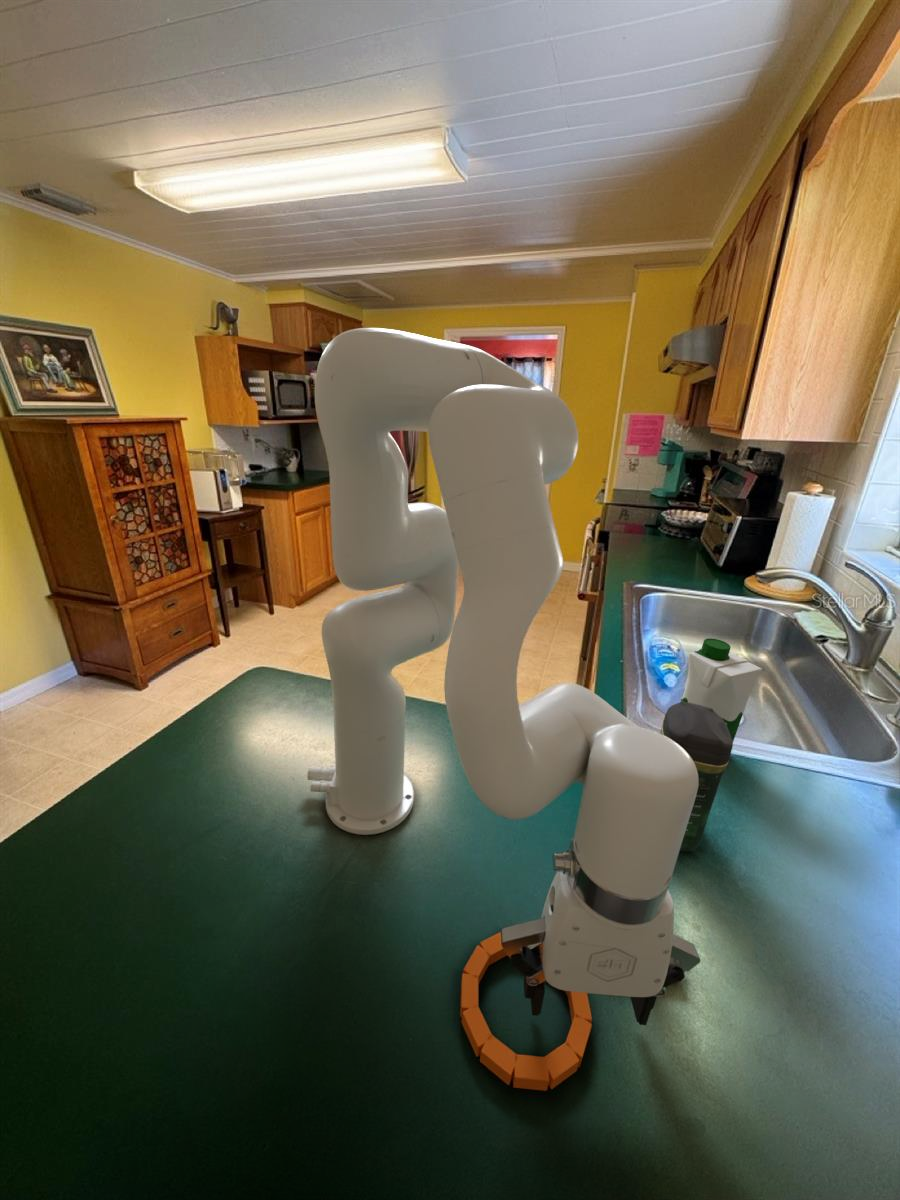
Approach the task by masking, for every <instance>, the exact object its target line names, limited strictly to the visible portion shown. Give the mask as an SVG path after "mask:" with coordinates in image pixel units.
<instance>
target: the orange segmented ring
mask: <svg viewBox="0 0 900 1200" xmlns="http://www.w3.org/2000/svg"><path fill="white" fill-rule="evenodd" d="M542 955H543V954H542ZM542 955H541V961H542ZM505 957H508V956H507V954H506V952H505V951H504V949H503V947H502V945H501V931H499V932H498V933H495V934H493V935H492V936H490V937H488V938H486V939H484V940H482V941H480V942H479V944H477V945H476V947H475V949H474V951H473V952H472V953H471V955H470V957H469V958H468V961H467V962H466V964H465V966H464V968H463V970H462V971H463V972H462V974H461V981H460V983H461V984H460V1015H459V1016H460V1018H461V1025H462V1027H463V1029H464V1032H465V1034H466V1036H467V1038H468V1041H469V1043H470V1045H471V1047H472V1050H473V1052H474V1055H475V1056H476V1058H477V1057H479V1062H480V1063H481V1064H482V1065H483V1066H485V1068H487V1069H488V1070H489V1071H490V1072H492V1073H493V1074H494V1075H495V1076H497V1077H498V1079H500V1080H501V1081H502V1082H503V1083H505V1084H506V1085H508V1086H510V1084H511V1082H512V1088H515V1089H522V1090H523V1089H524V1090H533V1091H543V1092H547V1091H548V1087H549V1088H550V1090H553V1089H554V1088H556V1087H557V1086H558V1085H560V1084H562V1082H563V1081H565V1080H567V1079H568V1078H569V1077H570V1076H573V1074H574V1073H576V1072H577V1071H578V1068H580V1067H581V1063H582V1061H583V1057H584V1055H585V1051H586V1048H587V1044H588V1041H589V1037H590V1034H591V1030H592V1028H593V1024H592V1022H593V1017H592V1011H591V1006H590V1002H589V996H588V993H582V992H572V991H565V990H563V992H565V995H566V996H567V1002H568V1007H569V1013H570V1020H571V1025H570V1028H569V1031H568V1034H567V1037H566V1040H565V1042H563V1044H561V1045H560V1046H558V1047H556V1048H555V1049H554V1050H551V1052H549V1053H548V1054H546V1055H545V1056H538V1055H529V1054H528V1055H527V1054H517V1053H516V1052H514V1051H513V1050H512V1049H511V1048H509V1047H508V1046H507V1045H506V1044H504V1043H503V1042H502V1041H500V1040H499V1039H498V1038H497V1037H495V1036H494V1035H493V1034H492V1032H491V1030H490V1028H489V1025H488V1024H487V1021H486V1019H485V1017H484V1015H483V1013H482V1011H481V1009H480V1006H479V984H480V983H481V981H482V979H483V977H484V975H485V973H486V971H487V970H488V967H489V966H490V965H493V964H494V963H496V962H497V961H499V960H501V959H503V958H505ZM542 964H543V962H542Z"/></svg>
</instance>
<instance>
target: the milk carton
mask: <svg viewBox="0 0 900 1200" xmlns="http://www.w3.org/2000/svg"><path fill="white" fill-rule="evenodd" d="M687 671H688V673H687V677H686V680H685V684H684V688H683V692H682V695H681V699H680V702H682V701H683V702H688V703H693V704H697V705H702V706H705V707H709V708H712V709H713V711H714V712H715V713H717V714H718V715H719V716H720V717H721V718H722V719H723V720H724V722H725V723H726V725H727V727H728V730H729V732H730V735H731V738H732V743H733V744H734V741H735V738H736V735H737V733H738V730H739V726H740V723H741V721H742V719H743V715H744V713H745V709H746V707H747V704H748V701H749V698H750V695H751V693H752V691H753V688H754V687H755V684H756V683H757V680H758V678H759V677H760V674H761V672H762V671H763V668H762V667H759V666H758V665H756V664H754V663H751V662H749V660H747V659H746V658H744V657H741V656H739V655H737V654H735V653H733V652H731V645H730V644H729V643H728V642H726V641H724V640H721V639H717V638H710V637H708V638H705V639H704V640H703V642H702V646H701V648H700V649H698V650H697V651H692V652H689V653H688V670H687Z"/></svg>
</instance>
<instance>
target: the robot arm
mask: <svg viewBox="0 0 900 1200" xmlns="http://www.w3.org/2000/svg"><path fill="white" fill-rule="evenodd" d="M314 380H315V381H314V406H315V413H316V418H317V422H318V427H319V430H320V435H321V438H322V441H323V445H324V449H325V453H326V459H327V463H328V473H329V474H328V475H329V502H330V503H329V505H330V506H329V507H330V531H331V534H330V536H331V552H332V553H331V554H332V564H333V568H334V572H335V575H336V578H337V579H338V580H339V582H340V583H341V584H342V585H343V586H344V587H346V588H347V589H350V590H351V591H352V590H353V591H356V592H357V591H359V592H367V591H376V590H382V589H387V588H391V587H395V586H398V587H395V588H391V589H388V590H382V591H378V592H373V593H370V594H365V595H361V596H357V597H354V598H350V599H348V600H346V601H343V602H341V603H339V604H337V605H336V606H334V607H333V608H332V609H330V610H329V611H328V613H326V615H325V617H324V619H323V620H322V625H321V631H320V633H321V641H322V646H323V650H324V654H325V658H326V663H327V667H328V671H329V676H330V687H331V695H332V696H331V697H332V715H333V731H334V732H333V734H334V735H333V736H334V737H333V738H334V761H335V763H334V765H332V766H330V768H329V767H323V766H316V765H315V766H313V765H311V766H309V768H308V770H307V775H306V776H307V780H308V781H312V782H311V784H310V792H313V793H314V792H315V793H325V794H326V795H325V810H326V814H327V816H328V817H329V819H330V820H331V821H332V823H333V824H334V825H335V826H337V827H338V828H339V829H341V830H343V831H345V832H347V833H351V834H355V835H362V836H363V835H364V836H367V835H368V836H369V835H376V834H380V833H384V832H387V831H389V830H391V829H392V830H393V828H395V827H397V826H399V825H400V824H401V823H402V822H403V821H404V820H406V818H407V817H408V815H409V814H410V813H411V811H412V809H413V806H414V801H415V791H414V786H413V783H412V781H411V779H409V777H408V776H407V775H406V774H405V745H406V743H405V741H406V714H407V713H406V710H407V709H406V708H407V704H406V703H407V698H406V692H405V689H404V687H403V685H402V683H401V682H400V681H399V680H398V679H397V678H396V677H394V676H393V674H392V673H393V669H395V668H396V667H397V666H399V665H401V664H404V663H406V662H408V661H410V660H413V659H415V658H418V657H420V656H423V655H426V654H428V653H431V652H433V651H435V650H437V649H439V648H441V647H442V646H444V645H445V644H446V643H447V641H448V640H449V645H448V650H447V656H446V662H445V670H444V683H443V685H444V686H443V688H444V691H443V692H444V702H445V707H446V712H447V716H448V717H447V718H448V722H449V724H450V728H451V732H452V735H453V739H454V743H455V745H456V746H455V747H456V751H457V754H458V758H459V761H460V764H461V766H462V769H463V772H464V775H465V777H466V779H467V781H468V783H469V785H470V787H471V789H472V791H473V792H474V794H475V795H476V797H477V799H478V800H479V801H480V802H481V803H482V804H483V805H484V806H485V808H486V809H488V810H490V811H491V812H493V814H495V815H497V816H499V817H502V818H504V819H510V820H522V819H523V820H524V819H527V818H530V817H532V816H534V815H536V814H538V813H540V811H542V810H543V809H545V808H546V807H547V806H549V805H550V804H551V803H552V802H554V801H555V800H556V799H557V798H559V796H561V795H562V794H563V793H564V792H565V791H566V790H568V788H570V787H571V786H572V785H573V784H575V783H580V784H581V785H582V792H581V796H580V797H581V798H580V803H579V808H578V814H577V819H576V824H575V830H574V835H573V838H570V842H569V846H568V847H569V848H568V849H567V850H566V851H563V852H561V853H558V852H557V853H556V852H553V853H552V870H553V872H554V873H555V872H556V873H555V876H554V877H553V879H552V881H551V885H550V887H549V889H548V892H547V895H546V899H545V901H544V905H543V909H542V912H541V916H540V918H537V919H534V920H533V919H532V920H530V921H525V922H521V923H518V924H514V925H510V926H507V927H503V928H502V929H500V932H501V945H502V947H503V949H504V951H505V952H506V954H507V956H506V957H509V959H510V965H511V966H512V967H514V968H515V969H516V970H517V971H518V972H520V973H521V974H522V975H523V995H524V996H523V997H524V998H525V999H530V1004H531V1014H532V1016H536V1017H537V1016H539V1015H541V1014H542V1008H543V1004H544V1003H543V1002H544V998H545V991H546V987H545V982H546V983H548V985H550V986H551V987H553V988H556V989H557V990H561V991H564V990H565V991H572V992H582V993H587V994H594V995H604V996H615V997H629V998H630V1001H631V1006H632V1010H633V1012H634V1017H635V1020H636V1023H637V1024H639V1025H640V1026H647V1024H648V1021H649V1018H650V1015H651V1012H652V1010H653V1009H654V1007H655V1004H656V1001H657V998H663V997H664V996H666V995H667V990H666V988H667V987H669V986H672V985H673V984H676V983H679V982H682V981H683V980H684V979H685V977H686V975H685V973H686V972H687V973H688V972H690V971H691V970H693V969H694V968H695V967H696V966H697V965H699V964H700V963H701V958H700V956H699V953H698V951H697V948H696V946H695V944H694V943H693V942H690V941H688V940H686V939H684V938H682V937H681V936H678V935H676V934H674V923H675V911H674V909H675V907H674V900H673V897H672V894H671V893H670V890H669V887H670V884H671V881H672V878H673V874H674V871H675V867H676V863H677V860H678V858H679V854H680V852H681V851H680V847H681V844H682V841H683V837H684V834H685V831H686V828H687V824H688V821H689V818H690V815H691V811H692V808H693V805H694V802H695V798H696V794H697V790H698V785H699V780H698V772H697V769H696V766H695V764H694V762H693V760H692V758H691V757H690V755H689V754H688V753H687V752H686V751H685V750H684V749H683V748H682V747H681V746H680V745H678V744H677V743H676V742H674V741H673V740H672V739H670V738H668V737H666V736H664V735H662V734H660V733H661V732H658V731H654V730H652V729H648V728H644V727H640V726H639V725H637V724H636V723H634V722H633V721H631V720H630V719H629V718H627V717H626V716H625V715H624V714H622V713H621V712H619V711H618V710H617V709H616V708H615V707H613V706H612V705H611V704H609V703H608V702H607V701H606V700H605V699H603V698H602V697H600V695H598V694H596V693H595V692H593V691H592V690H590V689H588V688H587V687H585V686H582V685H580V684H577V683H573V682H560V683H556V684H554V685H552V686H549V687H547V688H546V689H543V690H542V691H540V692H539V693H537V694H536V695H533V696H532V697H531V698H528V699H527V700H525V701H523V702H521V703H519V697H518V667H519V661H520V655H521V651H522V647H523V645H524V641H525V638H526V636H527V634H528V631H529V629H530V627H531V625H532V623H533V621H534V620H535V617H536V616H537V614H538V613H539V611H540V610H541V608H542V606H543V605H544V604H545V602H546V600H547V598H548V597H549V596H550V594H551V593H552V591H553V590H554V588H555V586H556V584H557V583H558V581H559V579H560V578H561V575H562V572H563V570H564V557H563V552H562V549H561V546H560V541H559V538H558V533H557V528H556V526H555V522H554V517H553V513H552V509H551V505H550V501H549V496H548V495H549V494H548V491H547V486H546V485H550V484H552V483H555V482H556V481H558V480H559V479H561V478H562V477H564V476H565V475H566V474H567V472H568V471H569V470H570V469H571V467H572V466H573V465H574V462H575V460H576V457H577V453H578V449H579V430H578V425H577V422H576V419H575V417H574V415H573V412H572V410H571V409H570V408H569V406H568V405H567V403H566V402H565V401H564V400H563V399H562V398H561V397H560V396H559V395H557V394H556V393H555V392H554V391H551V389H549V388H547V387H546V386H544V385H542V384H540V383H539V382H537V381H535V380H534V379H532V378H530V377H528V376H526V375H525V374H523V373H522V372H520V371H518V370H517V369H515V368H513V367H512V366H511V365H508V364H507V363H505V362H503V361H502V360H500V359H499V358H497V357H496V356H493V355H492V354H490V353H489V352H486V351H484V350H482V349H480V348H478V347H475V346H471V345H468V344H464V343H460V342H459V343H458V342H454V341H449V340H445V339H438V338H433V337H429V336H425V335H421V334H417V333H412V332H407V331H403V330H397V329H391V328H381V327H359V328H352V329H348V330H346V331H343V332H340V334H337V335H336V336H334V337H333V338H332V340H330V341H329V342H328V344H327V345H326V347H325V348H324V350H323V352H322V354H321V356H320V358H319V361H318V365H317V368H316V372H315V379H314ZM395 431H404V432H405V431H407V432H420V433H423V432H424V433H428V444H429V450H430V454H431V459H432V462H433V465H434V469H435V475H436V478H437V482H438V486H439V491H440V494H441V498H442V502H443V507H444V509H443V508H442V507H440V506H439V505H437V504H435V503H431V502H423V501H422V502H420V501H419V502H410V503H409V495H408V494H409V471H408V470H409V469H408V466H407V462H406V460H405V456H404V455H403V453H402V451H401V448H400V447H399V445H398V443H397V442H396V440H395V439H394V437H393V436H392V433H391V432H395ZM459 569H460V572H461V577H462V582H463V596H462V599H461V603H460V606H459V609H458V612H457V614H456V606H457V596H458V595H457V594H458V581H459ZM399 585H403V586H400V587H399ZM455 616H456V617H455ZM322 781H323V782H322ZM324 781H325V782H324ZM542 954H543V955H542ZM541 955H542V961H541ZM542 962H543V964H542ZM565 991H564V992H565Z"/></svg>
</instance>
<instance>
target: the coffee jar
mask: <svg viewBox="0 0 900 1200" xmlns="http://www.w3.org/2000/svg"><path fill="white" fill-rule="evenodd" d="M659 733H660V734H662V735H664V736H666V737H668V738H670V739H672V740H673V741H674V742H676V743H677V744H678V745H680V746H681V747H682V748H683V749H684V750H685V751H686V752H687V753H688V754H689V755H690V757H691V758H692V760H693V762H694V764H695V766H696V769H697V772H698V780H699V785H698V790H697V794H696V798H695V802H694V805H693V808H692V811H691V815H690V818H689V821H688V824H687V828H686V831H685V834H684V837H683V841H682V844H681V847H680V851H679V852H693V851H695V850H696V849H698V848H699V846H700V844H701V840H702V838H703V836H704V835H703V834H704V832H705V829H706V825H707V822H708V819H709V816H710V813H711V811H712V810H711V809H712V806H713V804H714V800H715V798H716V795H717V792H718V790H719V787H720V783H721V782H722V781H721V780H722V778H723V775H724V773H725V771H726V768H727V767H728V765H729V762H730V758H731V754H732V752H733V746H734V742H733V743H732V738H731V735H730V732H729V730H728V727H727V725H726V723H725V722H724V720H723V719H722V718H721V717H720V716H719V715H718V714H717V713H715V712H714V711H713V709H712V708H709V707H705V706H702V705H697V704H693V703H688V702H683V701H682V702H681V701H679V702H677V703H674V704H672V705H671V706H669V707H668V708H667V710H666V712H665V714H664V718H663V720H662V723H661V729H660V732H659Z"/></svg>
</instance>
